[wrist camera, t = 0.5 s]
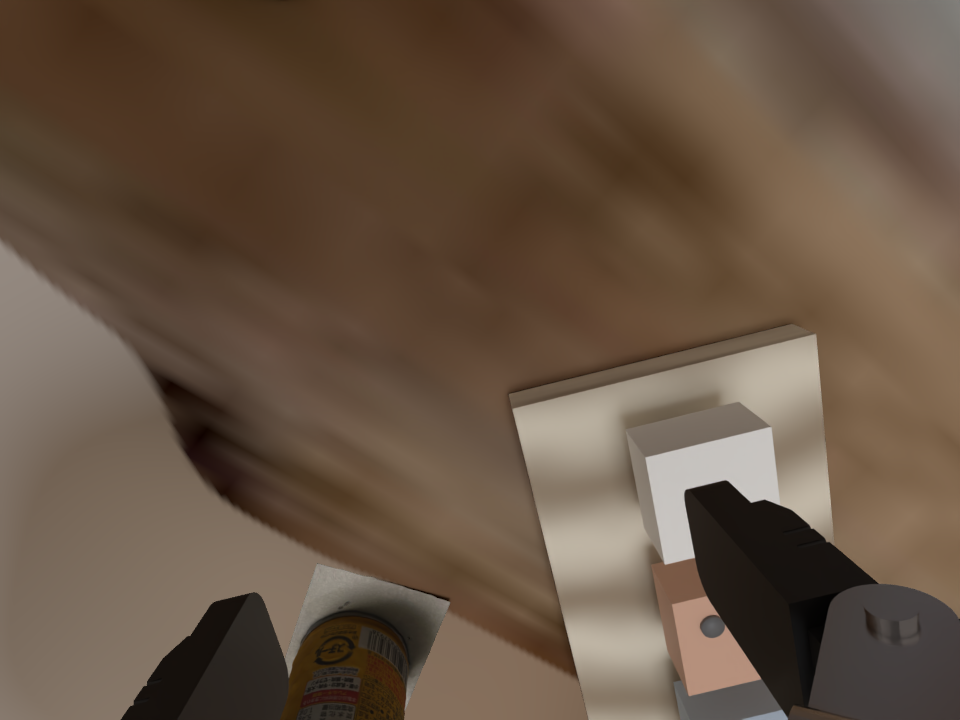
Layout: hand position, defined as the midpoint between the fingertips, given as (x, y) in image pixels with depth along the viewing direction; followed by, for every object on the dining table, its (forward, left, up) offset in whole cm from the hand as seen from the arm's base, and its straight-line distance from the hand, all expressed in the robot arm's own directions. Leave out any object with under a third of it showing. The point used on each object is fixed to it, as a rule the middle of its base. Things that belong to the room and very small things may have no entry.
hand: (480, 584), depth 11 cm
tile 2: (+14, +9, -15) cm, 22 cm away
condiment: (+15, -9, -19) cm, 26 cm away
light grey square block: (+7, +9, -15) cm, 19 cm away
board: (+14, +9, -18) cm, 25 cm away
